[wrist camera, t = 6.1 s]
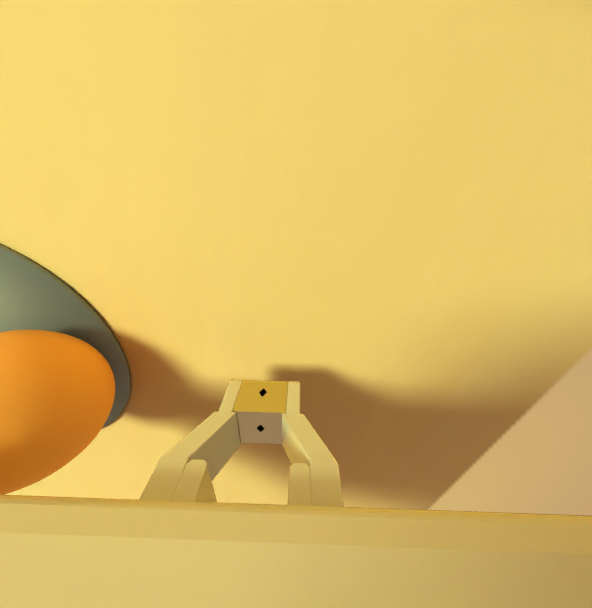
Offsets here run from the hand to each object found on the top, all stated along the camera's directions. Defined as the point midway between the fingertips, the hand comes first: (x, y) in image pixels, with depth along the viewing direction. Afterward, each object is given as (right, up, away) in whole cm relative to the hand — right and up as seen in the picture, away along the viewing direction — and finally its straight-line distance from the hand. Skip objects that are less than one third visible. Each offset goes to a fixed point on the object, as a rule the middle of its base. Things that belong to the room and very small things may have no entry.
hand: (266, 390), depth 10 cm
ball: (-10, 0, -1) cm, 10 cm away
